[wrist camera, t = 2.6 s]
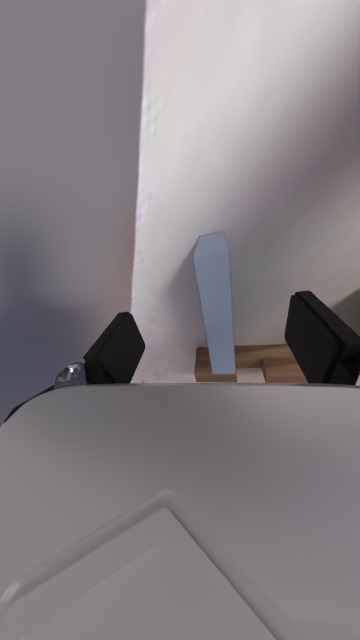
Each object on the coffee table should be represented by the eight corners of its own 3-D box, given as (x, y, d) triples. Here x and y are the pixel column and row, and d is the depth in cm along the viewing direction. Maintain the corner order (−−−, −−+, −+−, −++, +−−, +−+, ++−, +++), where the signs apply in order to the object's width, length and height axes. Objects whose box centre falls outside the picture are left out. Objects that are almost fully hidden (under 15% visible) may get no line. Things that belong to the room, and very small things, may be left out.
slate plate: (199, 236, 22) (192, 256, 15) (223, 231, 21) (228, 250, 14) (213, 331, 31) (212, 373, 24) (230, 330, 30) (235, 373, 23)
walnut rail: (197, 347, 34) (194, 373, 29) (301, 343, 29) (318, 373, 24) (198, 356, 35) (196, 381, 30) (299, 353, 30) (314, 383, 26)
